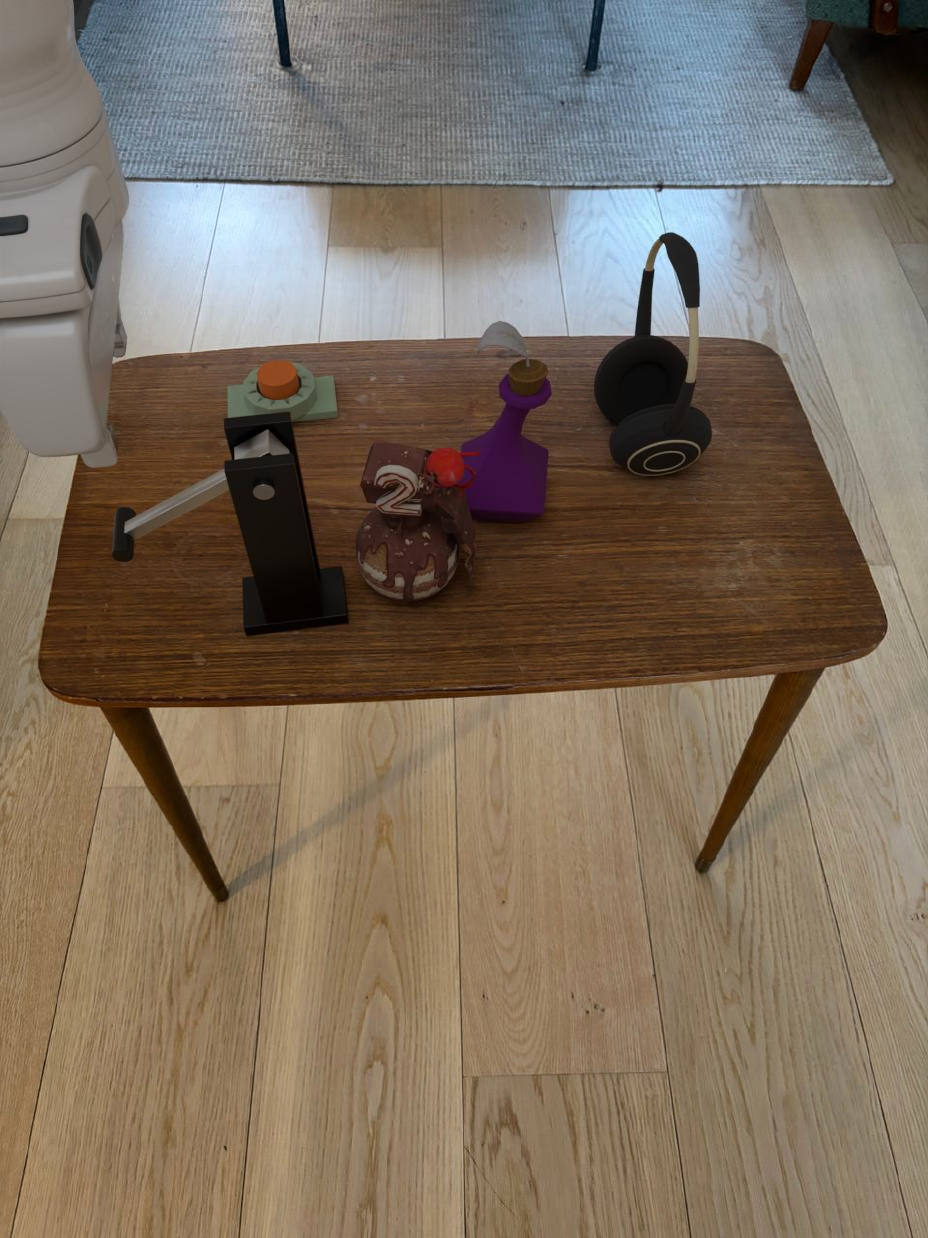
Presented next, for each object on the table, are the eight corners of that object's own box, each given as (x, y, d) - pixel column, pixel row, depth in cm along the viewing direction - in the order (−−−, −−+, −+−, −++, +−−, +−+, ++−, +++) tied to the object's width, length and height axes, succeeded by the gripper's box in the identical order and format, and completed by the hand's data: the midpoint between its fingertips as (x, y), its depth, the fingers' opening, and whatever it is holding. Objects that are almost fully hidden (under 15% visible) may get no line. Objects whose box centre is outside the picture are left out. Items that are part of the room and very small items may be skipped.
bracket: (246, 641, 76) (195, 479, 62) (244, 581, 80) (196, 415, 66) (349, 628, 77) (322, 466, 63) (343, 569, 81) (316, 403, 66)
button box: (229, 434, 90) (224, 414, 88) (228, 387, 94) (223, 366, 92) (339, 423, 91) (336, 402, 89) (333, 377, 95) (331, 356, 93)
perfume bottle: (546, 475, 87) (562, 302, 72) (541, 540, 83) (557, 369, 68) (461, 470, 87) (460, 296, 73) (452, 533, 83) (449, 362, 68)
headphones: (671, 388, 94) (714, 190, 78) (711, 502, 85) (768, 305, 69) (582, 395, 93) (606, 196, 77) (613, 510, 84) (648, 314, 68)
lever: (127, 568, 69) (101, 551, 67) (129, 526, 72) (105, 508, 70) (291, 482, 65) (269, 461, 63) (289, 440, 67) (267, 419, 66)
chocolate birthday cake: (482, 549, 82) (484, 412, 70) (468, 628, 77) (469, 496, 65) (370, 537, 83) (354, 400, 71) (350, 615, 78) (329, 481, 66)
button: (260, 402, 89) (257, 387, 88) (259, 376, 92) (256, 361, 90) (300, 398, 90) (297, 383, 88) (298, 372, 92) (295, 357, 90)
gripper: (-13, 78, 53) (69, 299, 64) (-80, 314, 41) (35, 535, 52) (107, 71, 53) (168, 291, 65) (77, 301, 41) (157, 522, 53)
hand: (108, 401), depth 58 cm, fingers open, 8 cm apart
